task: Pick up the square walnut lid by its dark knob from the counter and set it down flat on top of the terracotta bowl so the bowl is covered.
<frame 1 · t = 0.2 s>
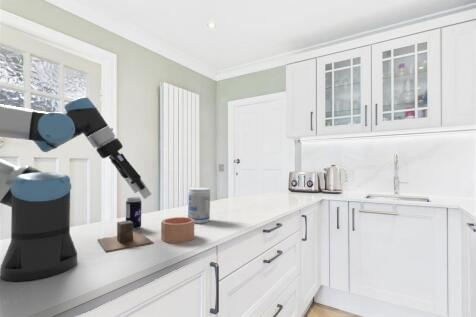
hand: (142, 193, 93), 15 cm above the countertop, tool tilted 35°, fingers open, 13 cm apart
terracotta bowl: (178, 237, 91), on the countertop
supplement tub: (199, 221, 116), on the countertop
beverage can: (133, 229, 103), on the countertop
walnut lid: (125, 243, 86), on the countertop
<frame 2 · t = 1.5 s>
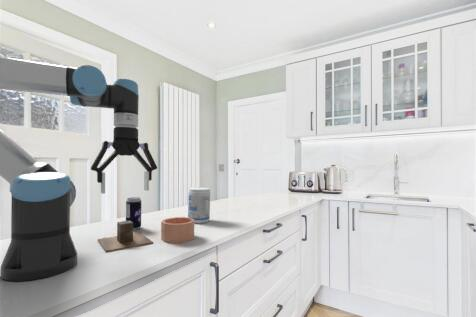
hand: (125, 191, 86), 17 cm above the countertop, tool pointing down, fingers open, 13 cm apart
nothing on the countertop moved.
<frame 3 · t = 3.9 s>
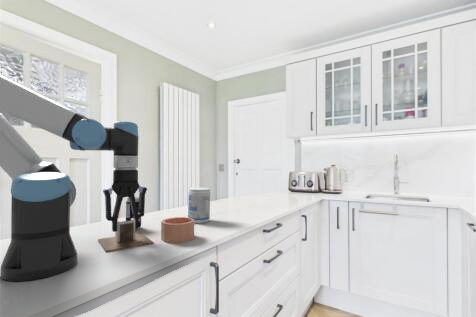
hand: (125, 239, 86), 1 cm above the countertop, tool pointing down, fingers closed on walnut lid, 4 cm apart
walnut lid: (125, 243, 86), on the countertop, touching gripper
everything else where it was.
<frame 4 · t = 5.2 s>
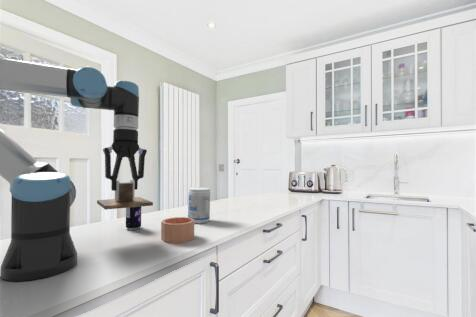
hand: (124, 200, 86), 14 cm above the countertop, tool pointing down, fingers closed on walnut lid, 4 cm apart
walnut lid: (124, 204, 86), point 12 cm above the countertop, touching gripper
everything else where it was.
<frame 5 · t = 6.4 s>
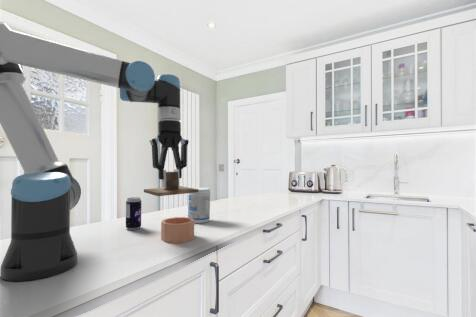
hand: (170, 188, 90), 17 cm above the countertop, tool pointing down, fingers closed on walnut lid, 4 cm apart
walnut lid: (170, 192, 90), point 16 cm above the countertop, touching gripper
everything else where it was.
when the fingers open (8 cm above the countertop, at t = 8.3 s): walnut lid stays where it is, resting on terracotta bowl.
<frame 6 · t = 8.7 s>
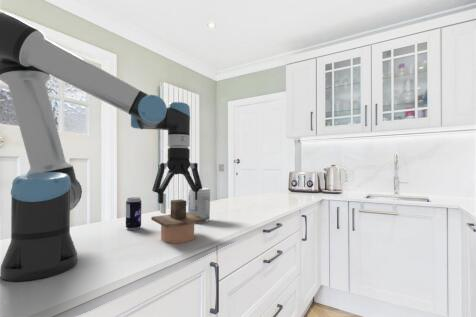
hand: (178, 211, 91), 9 cm above the countertop, tool pointing down, fingers open, 10 cm apart
walnut lid: (178, 220, 91), point 6 cm above the countertop, touching terracotta bowl
everything else where it was.
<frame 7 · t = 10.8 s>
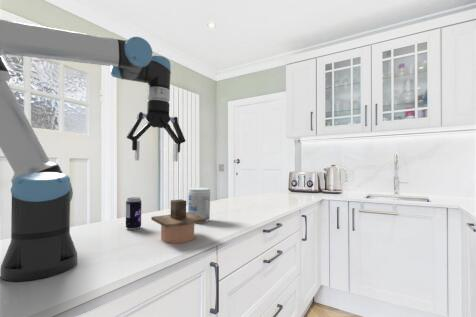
hand: (156, 161, 93), 27 cm above the countertop, tool pointing down, fingers open, 13 cm apart
nothing on the countertop moved.
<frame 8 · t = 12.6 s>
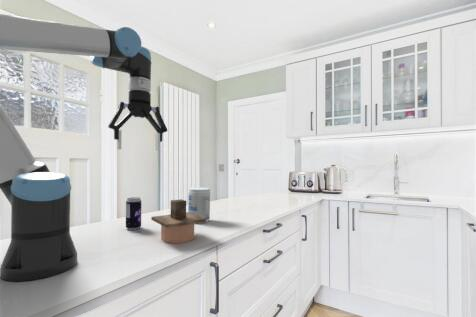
hand: (139, 150, 95), 31 cm above the countertop, tool pointing down, fingers open, 13 cm apart
nothing on the countertop moved.
at the end: walnut lid 0.2 cm off-centre on the terracotta bowl, point 6.0 cm above the terracotta bowl's base; walnut lid tilted 0°; the gripper is holding nothing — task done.
